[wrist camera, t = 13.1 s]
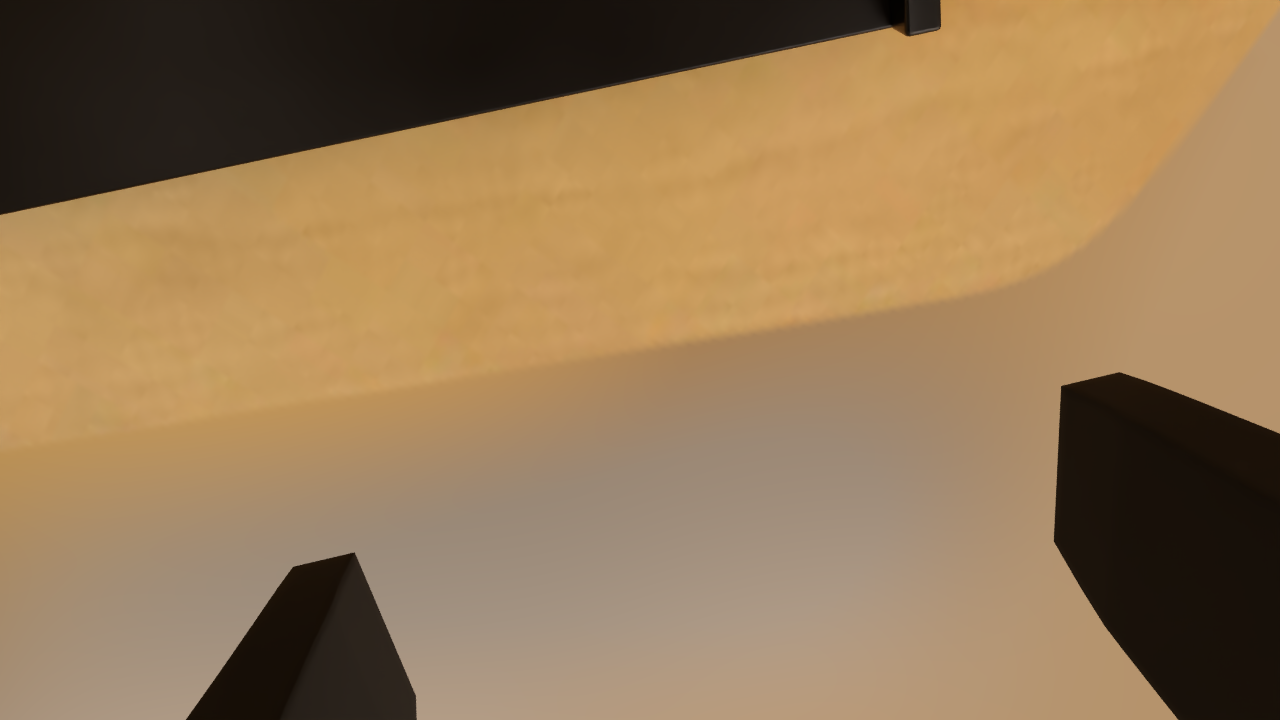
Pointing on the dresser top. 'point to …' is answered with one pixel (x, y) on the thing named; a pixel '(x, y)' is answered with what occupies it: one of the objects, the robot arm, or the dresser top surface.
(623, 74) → the tray
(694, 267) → the dresser top surface
